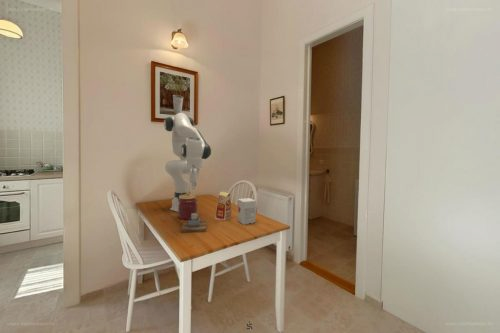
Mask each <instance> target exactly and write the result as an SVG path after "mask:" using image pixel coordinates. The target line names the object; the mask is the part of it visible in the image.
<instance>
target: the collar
mask: <svg viewBox="0 0 500 333" xmlns="http://www.w3.org/2000/svg"><path fill="white" fill-rule="evenodd" d="M187 220H188V221H187V222H188V227H200V221H201V217H200V216H199V217H198V216H197V220H191V217H189V219H187Z"/></svg>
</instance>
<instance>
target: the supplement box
mask: <svg viewBox="0 0 500 333" xmlns="http://www.w3.org/2000/svg"><path fill="white" fill-rule="evenodd" d="M237 201H238V202H237V204H238V205H237V221H238V222H239V223H241V224H242V225H244V226H245V225H249V223H251V224H255V223H256V209H257V208H256V206H257V205H256V204H257V202H256V200H255V199H253V198H251V197H248V198H237ZM254 222H255V223H254Z"/></svg>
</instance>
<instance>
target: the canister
mask: <svg viewBox="0 0 500 333" xmlns="http://www.w3.org/2000/svg"><path fill="white" fill-rule="evenodd" d="M179 198H180V199H179V200H178V202H179V205H178V213H177V214H178V215H177V216H178V219H180V220H189V217H191V214H192V213H197V214H198V203H197V202H198V199H197V195H195V194H192V193H191V192H190V193H189V192H186V194H184V195H182V196H180V197H179Z"/></svg>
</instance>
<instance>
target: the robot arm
mask: <svg viewBox="0 0 500 333" xmlns="http://www.w3.org/2000/svg"><path fill="white" fill-rule="evenodd" d="M163 127H164V129H165V130H166V132H172V134H171V143H172V152H173V154H174V155H175V156H177V157H178V158H179V159H173V160H168V161H166V163H165V165H164V169H165V171H166V173H167V174H168V175H169V176H171V178H172V179H173V182H174V193H173V196H174V198H172V200H171V202H172V203H171V204H172V205H171V207H170V208H169V211H173V212H178V205H179V202H178V200H179V199H180V198H179V197H180V196H182V195H184V194H186V192H189V193H190V194H191V190H190V189H192V190H195V189H196V186H197V180H198V179H199V175H200V173H199V172H200V169H202V168H203V160H207V159H208V158H210V156H211V155H212V148H211V146H210V145H209V144H208V142H206V140H205V139H204V136H203V135H202V134H201V132H200V130H199V129H197V128H196V127H195V121H194V119H193V118H192V117H189V116H187V115H186V113H184V112H178V113H176V114H175V115H174V116H173V117H172V116H171V117H170V116H169V117H166V118H165V119H164V120H163ZM184 175H189V180H188V179H187V178H185V177H184ZM190 185H191V186H190Z"/></svg>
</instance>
